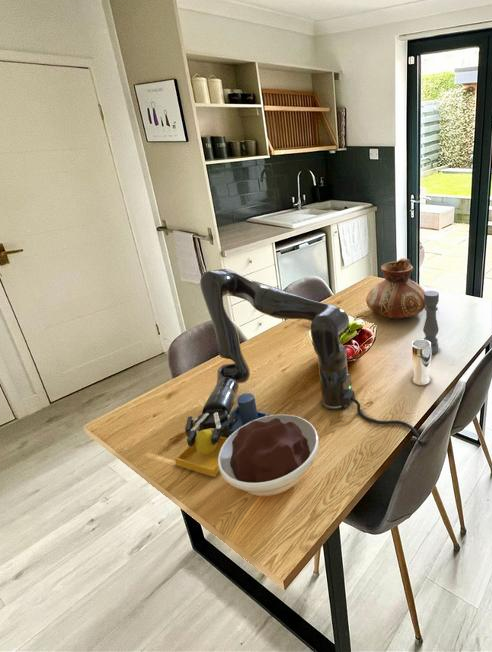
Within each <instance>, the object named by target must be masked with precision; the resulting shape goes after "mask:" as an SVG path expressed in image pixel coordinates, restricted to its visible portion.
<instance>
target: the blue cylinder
mask: <svg viewBox="0 0 492 652" xmlns="http://www.w3.org/2000/svg"><path fill="white" fill-rule="evenodd" d="M236 401H237V406H238V407H239V412H240V416H241V421H242V425H245V424H247V423H249V422H251V421H253V420H256V419H259V418H258V413H257V411H258V409H257V403H256V398H255V395H254V393H251V392H246V393H242V394H240V395H239V396H237V399H236Z"/></svg>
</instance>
